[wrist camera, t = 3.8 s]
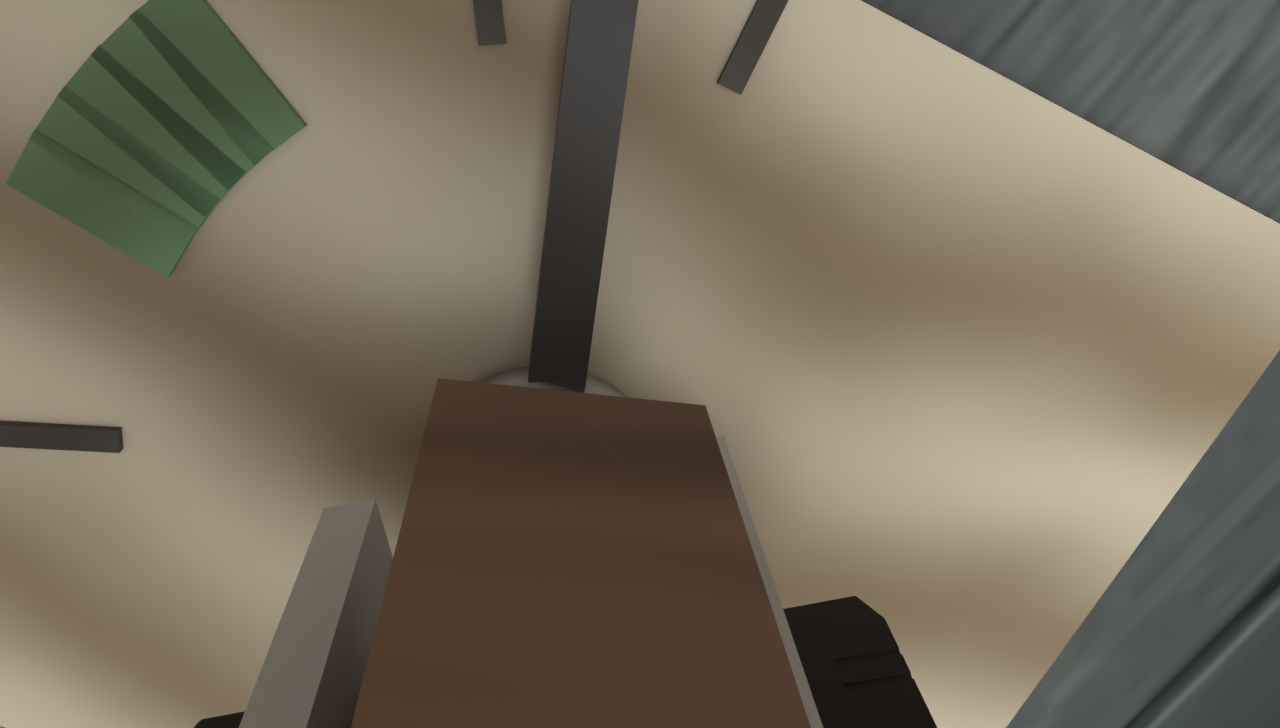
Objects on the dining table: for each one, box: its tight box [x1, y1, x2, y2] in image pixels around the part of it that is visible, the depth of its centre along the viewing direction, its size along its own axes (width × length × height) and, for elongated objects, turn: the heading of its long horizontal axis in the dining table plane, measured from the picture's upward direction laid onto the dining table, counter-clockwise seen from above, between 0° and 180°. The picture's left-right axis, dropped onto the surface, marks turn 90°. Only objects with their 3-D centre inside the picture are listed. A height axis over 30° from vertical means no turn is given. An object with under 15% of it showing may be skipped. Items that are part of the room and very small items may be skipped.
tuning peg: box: [351, 0, 811, 728], centre depth 12 cm, size 12×4×10 cm, turn 172°
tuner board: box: [0, 0, 1280, 728], centre depth 19 cm, size 18×22×2 cm
